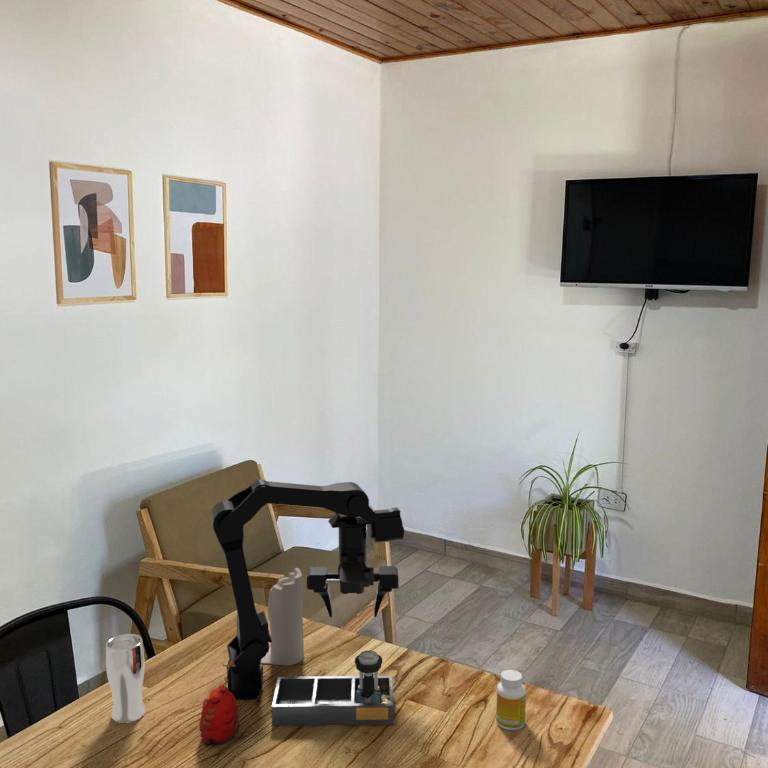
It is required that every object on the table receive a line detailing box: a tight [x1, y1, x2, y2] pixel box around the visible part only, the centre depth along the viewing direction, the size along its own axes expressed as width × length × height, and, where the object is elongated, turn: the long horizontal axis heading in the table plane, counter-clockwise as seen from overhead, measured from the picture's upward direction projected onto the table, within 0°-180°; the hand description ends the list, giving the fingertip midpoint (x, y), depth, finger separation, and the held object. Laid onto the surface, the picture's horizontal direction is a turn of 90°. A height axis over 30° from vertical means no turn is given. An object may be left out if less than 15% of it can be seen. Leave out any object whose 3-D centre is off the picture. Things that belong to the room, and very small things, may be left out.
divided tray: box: [271, 675, 395, 727], centre depth 152 cm, size 23×11×4 cm, turn 91°
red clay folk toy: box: [198, 659, 240, 745], centre depth 143 cm, size 8×7×15 cm
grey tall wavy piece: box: [260, 567, 305, 666], centre depth 171 cm, size 7×14×20 cm, turn 82°
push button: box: [354, 649, 389, 703], centre depth 152 cm, size 7×5×10 cm
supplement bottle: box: [495, 669, 527, 731], centre depth 147 cm, size 5×5×10 cm
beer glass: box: [105, 633, 146, 724], centre depth 150 cm, size 7×7×15 cm
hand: (353, 616), depth 163 cm, fingers open, 9 cm apart
